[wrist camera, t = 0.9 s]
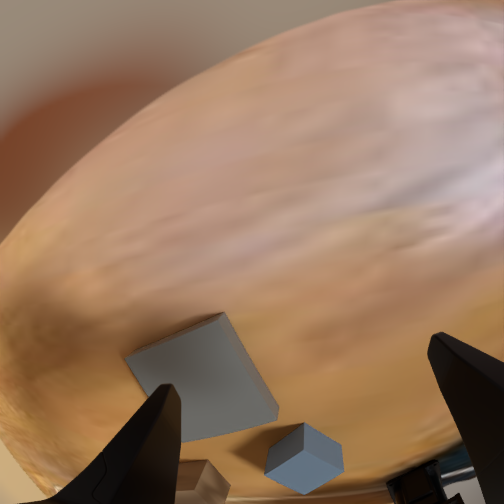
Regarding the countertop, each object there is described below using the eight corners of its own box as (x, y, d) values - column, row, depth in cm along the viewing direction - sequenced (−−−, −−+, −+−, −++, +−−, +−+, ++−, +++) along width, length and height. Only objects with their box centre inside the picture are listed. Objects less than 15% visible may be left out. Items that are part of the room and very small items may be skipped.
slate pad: (279, 406, 23) (277, 420, 21) (189, 431, 25) (182, 442, 23) (224, 311, 23) (217, 319, 21) (135, 350, 25) (124, 358, 23)
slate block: (341, 443, 23) (344, 471, 19) (305, 468, 24) (304, 495, 20) (304, 421, 23) (303, 449, 19) (269, 447, 24) (264, 475, 20)
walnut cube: (230, 484, 26) (220, 514, 21) (196, 488, 27) (183, 515, 22) (208, 459, 25) (194, 490, 21) (173, 463, 26) (157, 491, 22)
